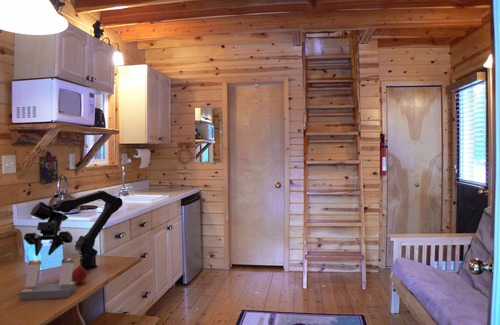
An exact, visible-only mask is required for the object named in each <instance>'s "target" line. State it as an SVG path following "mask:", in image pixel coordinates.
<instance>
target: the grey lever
mask: <svg viewBox="0 0 500 325" xmlns="http://www.w3.org/2000/svg"><path fill="white" fill-rule="evenodd" d="M74 260H75V259H74V258H63V259H62V260H61V266H60V274H59V282H58V283H59V285H67V284H71V282H72V280H73V278H72V273H73V271H74V269H73V268H74V262H75V261H74Z"/></svg>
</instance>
